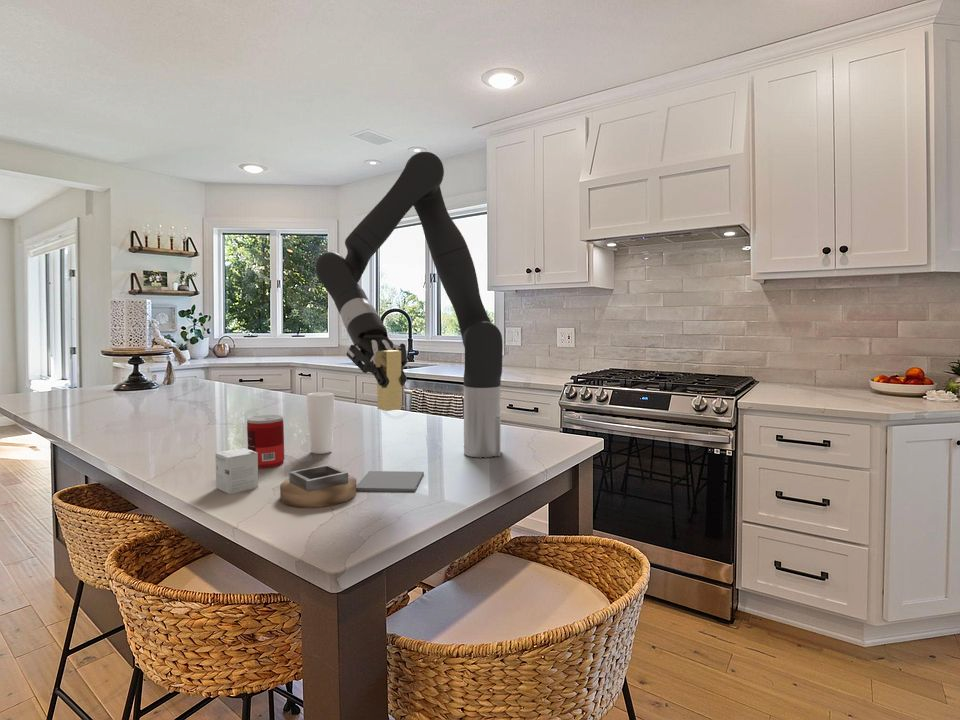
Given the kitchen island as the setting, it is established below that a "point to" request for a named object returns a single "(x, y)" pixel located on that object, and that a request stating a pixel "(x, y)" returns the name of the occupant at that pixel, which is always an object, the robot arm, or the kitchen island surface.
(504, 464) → the kitchen island surface
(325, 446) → the drinking glass
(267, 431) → the canned food
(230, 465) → the skincare box
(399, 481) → the mat
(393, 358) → the brass bar
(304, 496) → the copper round socket base
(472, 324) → the robot arm
